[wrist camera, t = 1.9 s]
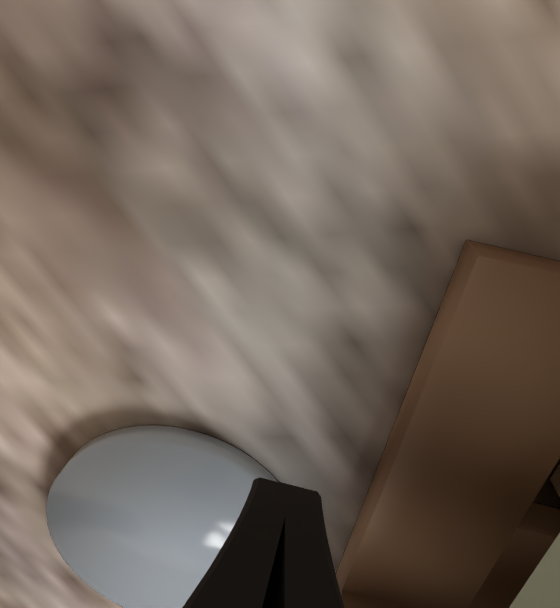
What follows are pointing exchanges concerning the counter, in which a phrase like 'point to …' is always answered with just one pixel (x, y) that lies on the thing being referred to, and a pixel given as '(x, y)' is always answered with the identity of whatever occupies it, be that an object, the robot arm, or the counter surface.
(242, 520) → the robot arm
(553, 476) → the block
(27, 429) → the counter surface
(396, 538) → the board
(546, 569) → the cover
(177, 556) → the saucer
